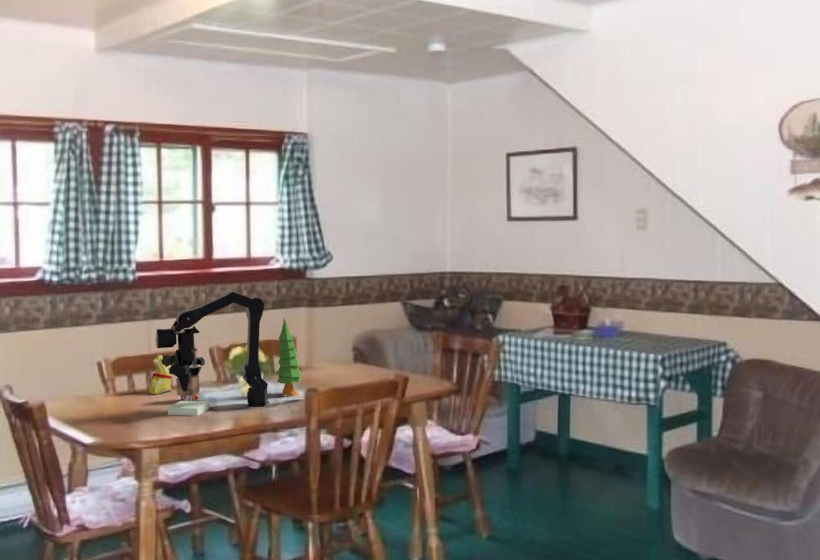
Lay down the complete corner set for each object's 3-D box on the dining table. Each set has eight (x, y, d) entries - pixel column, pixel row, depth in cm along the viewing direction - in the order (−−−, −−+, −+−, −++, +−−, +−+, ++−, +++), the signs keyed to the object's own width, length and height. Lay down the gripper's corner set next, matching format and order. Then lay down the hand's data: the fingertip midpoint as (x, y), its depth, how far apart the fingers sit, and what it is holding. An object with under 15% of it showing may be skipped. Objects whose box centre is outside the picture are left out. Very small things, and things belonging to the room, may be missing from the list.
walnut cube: (199, 391, 349) (198, 375, 348) (193, 395, 343) (192, 378, 342) (183, 391, 350) (183, 375, 349) (177, 395, 344) (176, 378, 343)
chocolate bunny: (177, 390, 384) (175, 353, 382) (154, 395, 375) (152, 357, 374) (166, 388, 388) (164, 351, 386) (143, 393, 379) (141, 355, 378)
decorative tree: (274, 393, 374) (272, 316, 372) (297, 390, 379) (294, 314, 376) (284, 398, 366) (281, 319, 363) (307, 395, 371) (304, 317, 368)
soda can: (195, 403, 361) (193, 371, 359) (177, 402, 362) (175, 370, 361) (202, 399, 367) (201, 367, 366) (185, 398, 369) (184, 367, 368)
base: (209, 409, 351) (209, 401, 351) (197, 416, 341) (197, 408, 340) (180, 409, 353) (180, 401, 353) (168, 416, 343) (167, 407, 342)
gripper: (175, 341, 355) (177, 383, 357) (153, 350, 337) (155, 394, 338) (204, 341, 353) (206, 384, 355) (184, 350, 335) (186, 395, 336)
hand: (188, 389), depth 346 cm, fingers closed on walnut cube, 6 cm apart
